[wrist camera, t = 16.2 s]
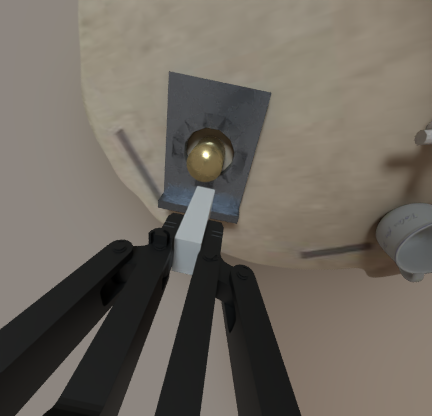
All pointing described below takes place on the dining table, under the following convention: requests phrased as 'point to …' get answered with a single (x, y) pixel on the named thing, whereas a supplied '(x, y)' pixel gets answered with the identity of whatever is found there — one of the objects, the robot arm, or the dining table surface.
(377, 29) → the dining table surface
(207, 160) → the gold round-ended peg
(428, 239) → the teacup
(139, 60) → the dining table surface
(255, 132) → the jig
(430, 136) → the pipe connector
